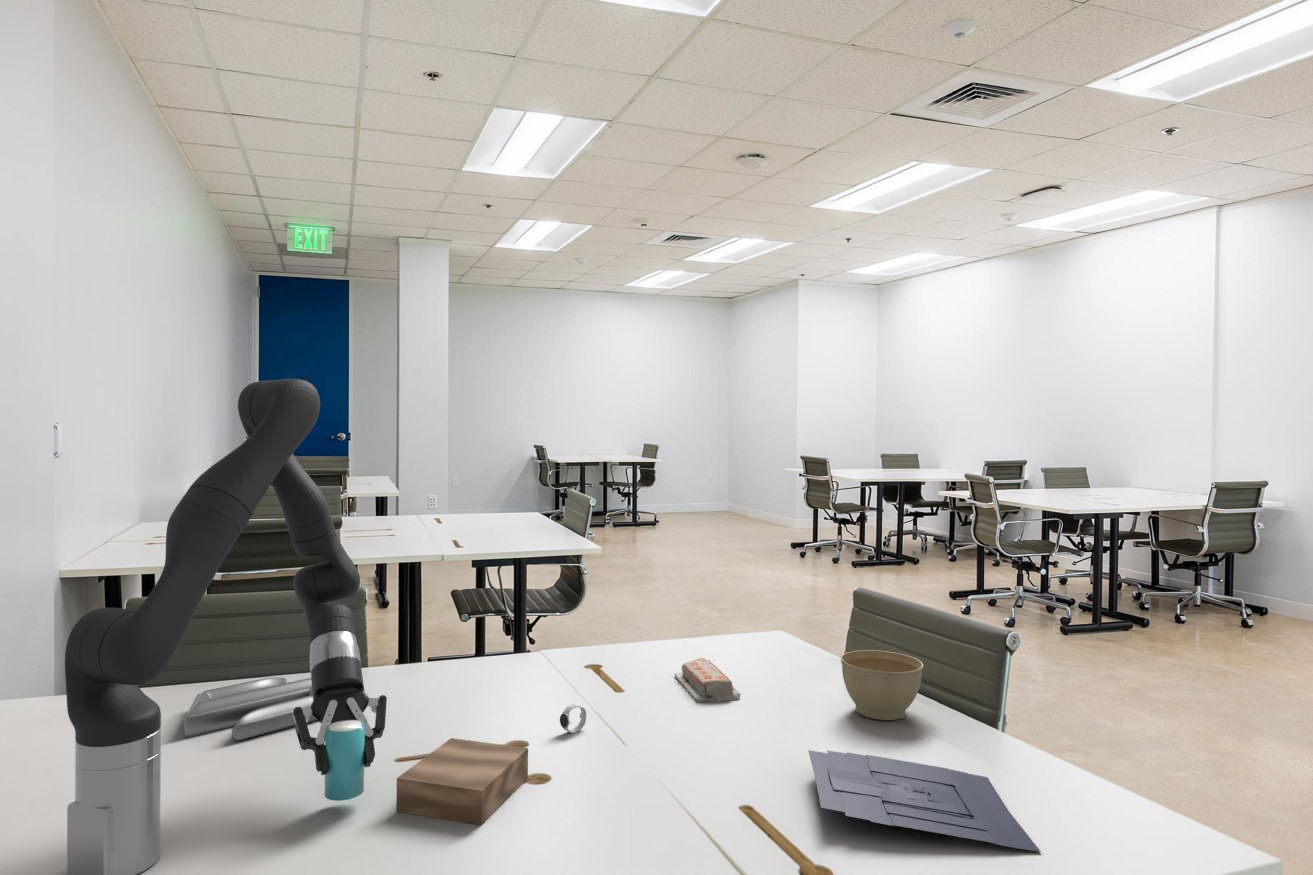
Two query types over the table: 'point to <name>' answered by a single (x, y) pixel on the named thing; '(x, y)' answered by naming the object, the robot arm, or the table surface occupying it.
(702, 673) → the packaged product
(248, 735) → the emblem
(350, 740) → the tumbler
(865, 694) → the planter bowl
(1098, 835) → the table surface
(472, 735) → the table surface
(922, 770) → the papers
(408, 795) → the wooden square base
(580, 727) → the wristwatch
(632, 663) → the table surface
